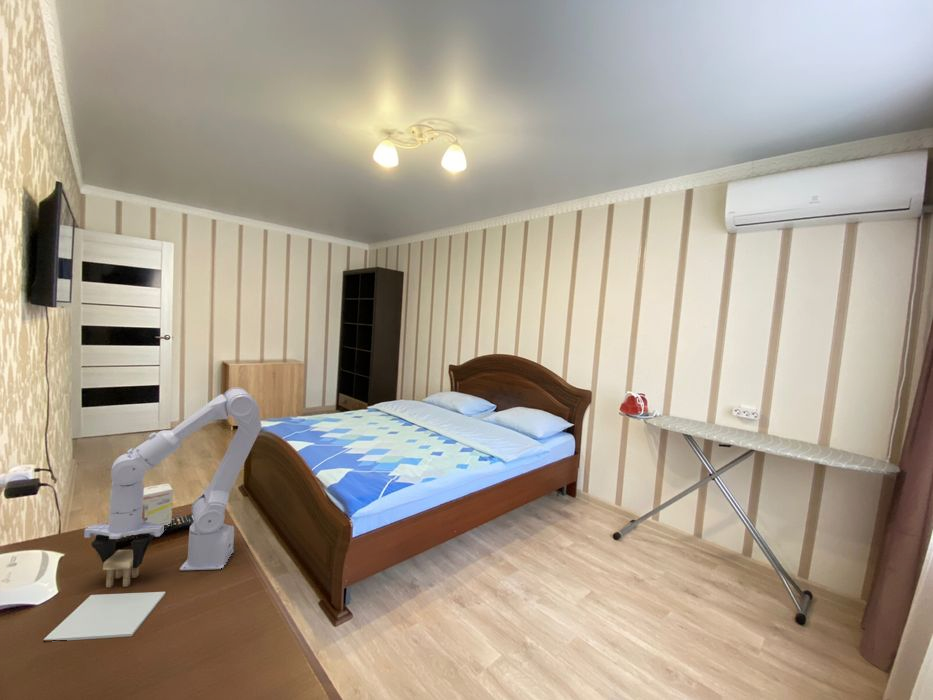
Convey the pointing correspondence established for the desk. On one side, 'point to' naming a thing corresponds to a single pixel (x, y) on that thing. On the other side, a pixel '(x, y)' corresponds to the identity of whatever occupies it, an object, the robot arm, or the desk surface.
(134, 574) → the birch stool
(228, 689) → the desk surface
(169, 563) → the desk surface
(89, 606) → the light grey mat
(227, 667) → the desk surface
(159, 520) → the ink box
